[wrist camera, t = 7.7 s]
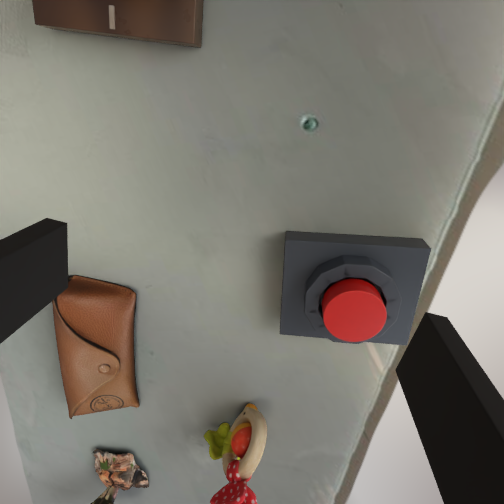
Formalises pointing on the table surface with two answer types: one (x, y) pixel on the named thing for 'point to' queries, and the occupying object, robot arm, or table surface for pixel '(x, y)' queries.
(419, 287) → the button box
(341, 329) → the button
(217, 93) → the table surface
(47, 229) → the robot arm
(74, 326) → the sunglasses case
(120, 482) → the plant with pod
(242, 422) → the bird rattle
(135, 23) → the knob panel
